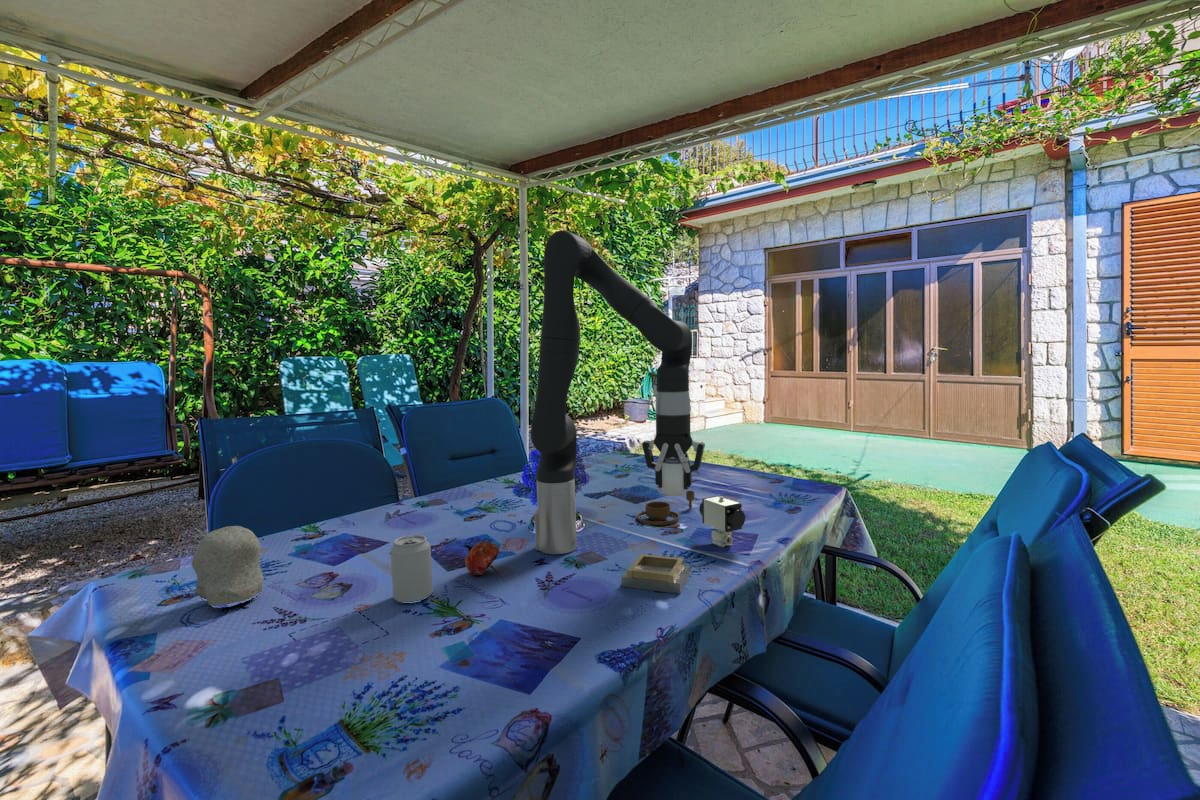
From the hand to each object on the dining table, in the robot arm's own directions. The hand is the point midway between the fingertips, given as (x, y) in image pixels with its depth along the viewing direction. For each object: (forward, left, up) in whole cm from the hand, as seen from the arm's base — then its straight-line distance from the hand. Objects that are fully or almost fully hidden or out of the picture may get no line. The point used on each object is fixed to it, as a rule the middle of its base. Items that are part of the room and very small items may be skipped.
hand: (673, 487), depth 125 cm
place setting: (-9, +34, -18) cm, 39 cm away
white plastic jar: (0, 0, -1) cm, 1 cm away
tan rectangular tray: (-1, -11, -17) cm, 20 cm away
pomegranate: (-38, -17, -18) cm, 46 cm away
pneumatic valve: (+9, +16, -18) cm, 25 cm away
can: (-45, -32, -18) cm, 59 cm away
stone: (-79, -46, -18) cm, 93 cm away
